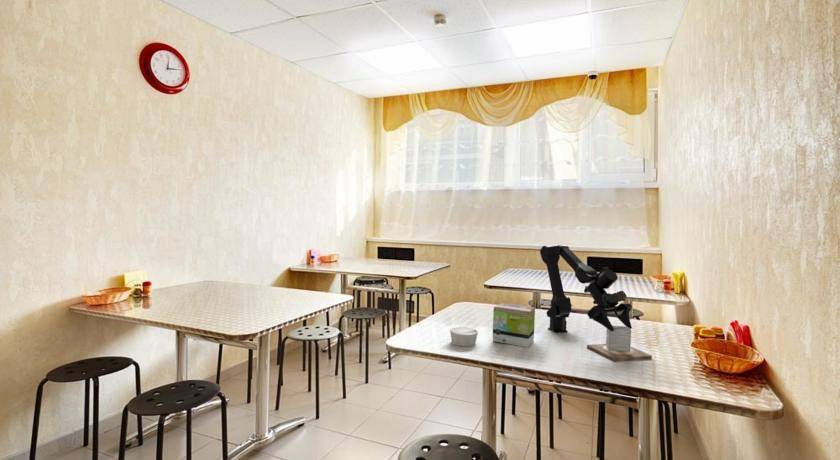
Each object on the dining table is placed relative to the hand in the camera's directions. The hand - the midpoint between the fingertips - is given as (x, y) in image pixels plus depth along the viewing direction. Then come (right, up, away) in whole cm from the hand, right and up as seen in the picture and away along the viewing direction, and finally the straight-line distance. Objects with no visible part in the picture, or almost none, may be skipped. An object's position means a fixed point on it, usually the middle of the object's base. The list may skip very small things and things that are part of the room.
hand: (622, 329), depth 161 cm
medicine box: (-1, -8, +2) cm, 8 cm away
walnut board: (-1, -9, +2) cm, 10 cm away
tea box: (-38, -8, +14) cm, 42 cm away
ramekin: (-59, -8, +11) cm, 61 cm away
